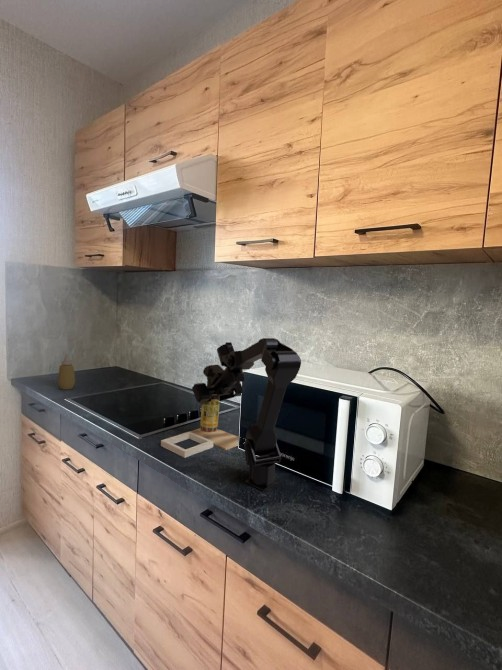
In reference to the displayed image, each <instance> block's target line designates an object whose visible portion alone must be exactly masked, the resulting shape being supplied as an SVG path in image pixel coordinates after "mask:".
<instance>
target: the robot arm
mask: <svg viewBox="0 0 502 670" xmlns="http://www.w3.org/2000/svg"><path fill="white" fill-rule="evenodd" d="M234 348H235V347H234V346H233V343H232V342H231V341H230V342H227V341H226V342H225V343H224V344H222V345H220V346H218V347H217V349H216V353H217V356H218V359H219V362H220V365H219V364H209V365H207V366H205V367H204V369H203V370H202V371H203V372H202V373H203V375H204V376H205V377H206V378H207V377H210V378H211V381H210V382H211V384H213V386H212V388H207V383H205V382H198V383H197V382H196V383H194V384H193V385H192V387H191V390H192V392H193V395H194V397H195V400H196V401H197V403H199V404H200V405H201V406H202V405H203V404H206V403H208V402H211V399H210V397H212V395H218V396H220V402H223V401H226V400H230V399H232V398H235V397H241V396H242V395H241V393H242V387H243V384H242V383H244V382H245V379H246V378H245V374H244V371H245V370H246V371H247V370H250V369H252V367H254V365H255V362H257V361H258V360H260V362H262V364H263V365H264V366H265V368H264V370H265V374H266V376H267V379H268V381H267V385H266V389H265V390H264V391H265V392H264V396H263V399H262V403H261V407H260V409H259V414H258V417H257V421H256V423H255V424H254V423H253V424H249V425H248V427H247V430H246V434H245V442H244V443H243V444H244V446H243V447H244V456H245V457H244V459H245V461H246V465H247V466H248V468H249V469H248V479H246V480H245V483H246V484H247V485H250V486H252V487H254V488H257V490H260V491H263V492H265V491H267V490H269V489H270V488H271V487H273V486H276V485H277V484H278V480H276V479H275V469H276V464H279V463H281V460H282V455H281V452H280V449H279V446H278V443H277V441H278V437H277V435H276V432H275V427H276V424H277V420H278V417H279V413H280V410H281V407H282V404H283V400H284V396H285V394H286V390H287V387H288V386H289V384H291V383H292V382H293V381H294V380H295V379H296V378H297V375H298V373H299V371H300V369H301V365H302V360H301V357H300V355H299V354H298V352H297V351H295V350H294V349H292V348H291V347H290V346H288V345H286V344H284V343H282V342H281V341H280V340H279V339H278V338H275V337H274V338H272V337H267V338H264V337H262V338H260V339H258V341H257V342H255V343H253V344H252V345H249V346H248V347H246V348H245V349H243V350H242V349H241V350H235V349H234ZM223 367H225V369H224V368H223ZM243 370H244V371H243Z"/></svg>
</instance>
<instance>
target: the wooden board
mask: <svg viewBox="0 0 502 670" xmlns="http://www.w3.org/2000/svg"><path fill="white" fill-rule="evenodd" d="M189 432H192V433H194V434H197V435H199V436H202V437H204V438H206V439H209V440H211V441H213V447H214V446H215V447H217V448H219V449H221V450H224V451H227V450H230V449H232V448H235V447H237V446H239V445H238V439H239V437H240V436H237V435H235V434H232V433H229V432H227V431H224V430H222V429H218V428H217V430H216V431H215V432H204V431H201V429H200V428H197V429H194V430H191V431H189Z"/></svg>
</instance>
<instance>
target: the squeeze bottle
mask: <svg viewBox="0 0 502 670" xmlns="http://www.w3.org/2000/svg"><path fill="white" fill-rule="evenodd" d="M57 377H58V378H57V384H58V386H59V389H60V390H72V389H73V388H74V385H75V383H76V378H75V377H76V375H75V368H74V364H73V362H72V360H70V357H69V353H65V355H64V359H63V360H61V365H60V366H59V369H58V376H57Z"/></svg>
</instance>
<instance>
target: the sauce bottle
mask: <svg viewBox="0 0 502 670" xmlns="http://www.w3.org/2000/svg"><path fill="white" fill-rule="evenodd" d="M210 381H211V378H210V377H206V386H207V388H212V386H213V384H211V382H210ZM210 399H211V402H208V403H206V404H203V405H201V412H200V423H199V425H200V429H201V431H204V432H215V431H216V430H217V429H218V425H219V414H220V402H221V401H220V396H218V395H212V397H210Z"/></svg>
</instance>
